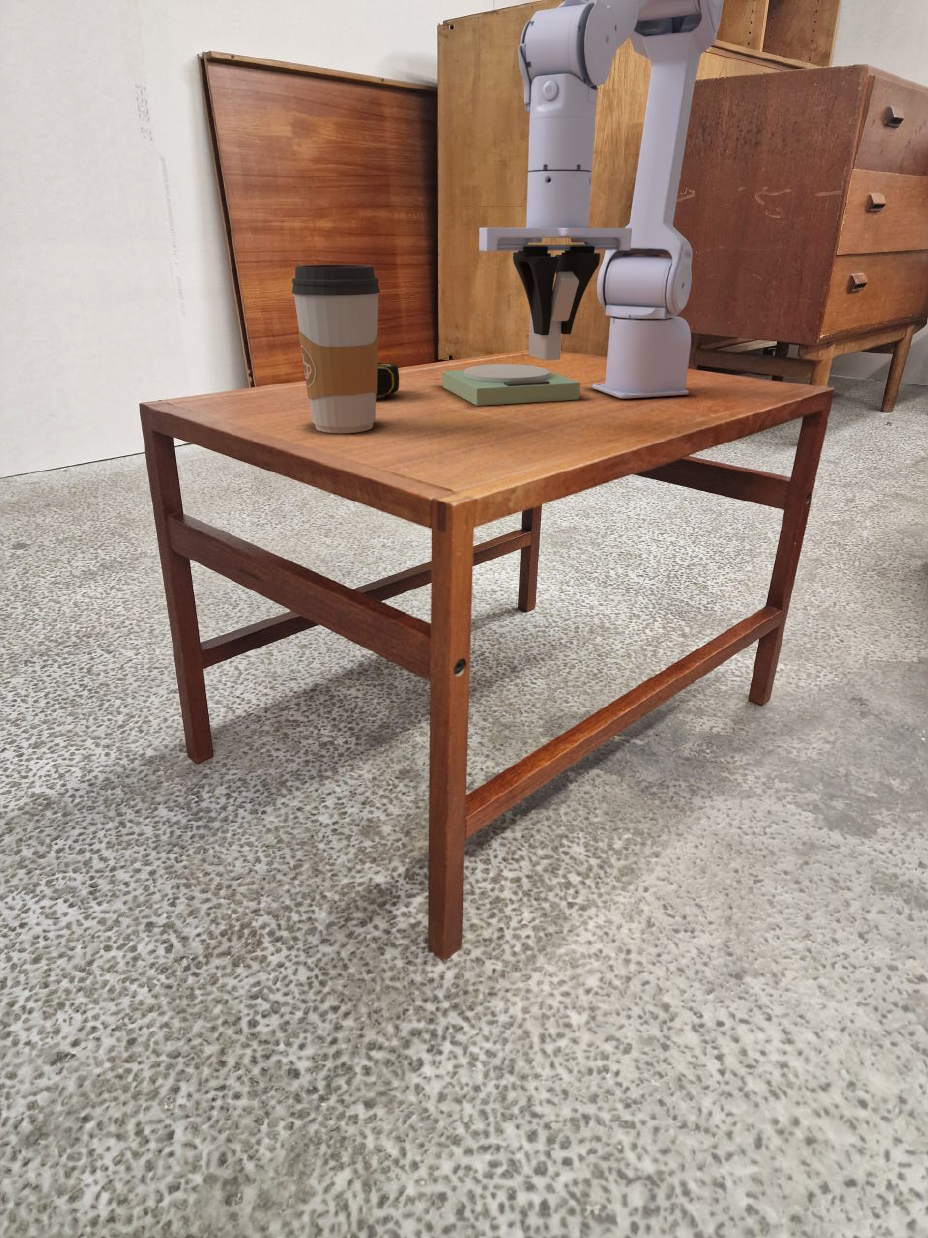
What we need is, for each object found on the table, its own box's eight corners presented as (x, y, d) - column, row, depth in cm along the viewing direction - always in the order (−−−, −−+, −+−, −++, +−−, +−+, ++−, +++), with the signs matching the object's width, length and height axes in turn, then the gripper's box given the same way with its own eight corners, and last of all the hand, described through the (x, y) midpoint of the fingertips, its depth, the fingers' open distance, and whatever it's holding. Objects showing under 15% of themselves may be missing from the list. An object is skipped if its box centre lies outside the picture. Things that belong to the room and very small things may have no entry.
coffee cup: (294, 421, 84) (280, 264, 77) (371, 415, 87) (364, 263, 80) (314, 439, 77) (300, 268, 70) (396, 431, 80) (391, 267, 73)
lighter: (527, 354, 81) (531, 268, 78) (543, 353, 82) (547, 268, 78) (557, 365, 75) (562, 272, 72) (574, 364, 76) (580, 272, 72)
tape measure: (389, 390, 101) (387, 358, 99) (407, 399, 95) (407, 366, 93) (336, 393, 98) (334, 361, 96) (352, 403, 92) (350, 370, 91)
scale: (535, 381, 106) (536, 361, 105) (579, 399, 95) (580, 377, 94) (442, 386, 103) (442, 365, 102) (476, 406, 92) (476, 382, 90)
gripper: (500, 167, 66) (497, 341, 72) (654, 171, 70) (639, 335, 76) (471, 172, 72) (470, 332, 78) (615, 176, 76) (604, 327, 82)
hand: (552, 333), depth 77 cm, fingers closed on lighter, 2 cm apart
